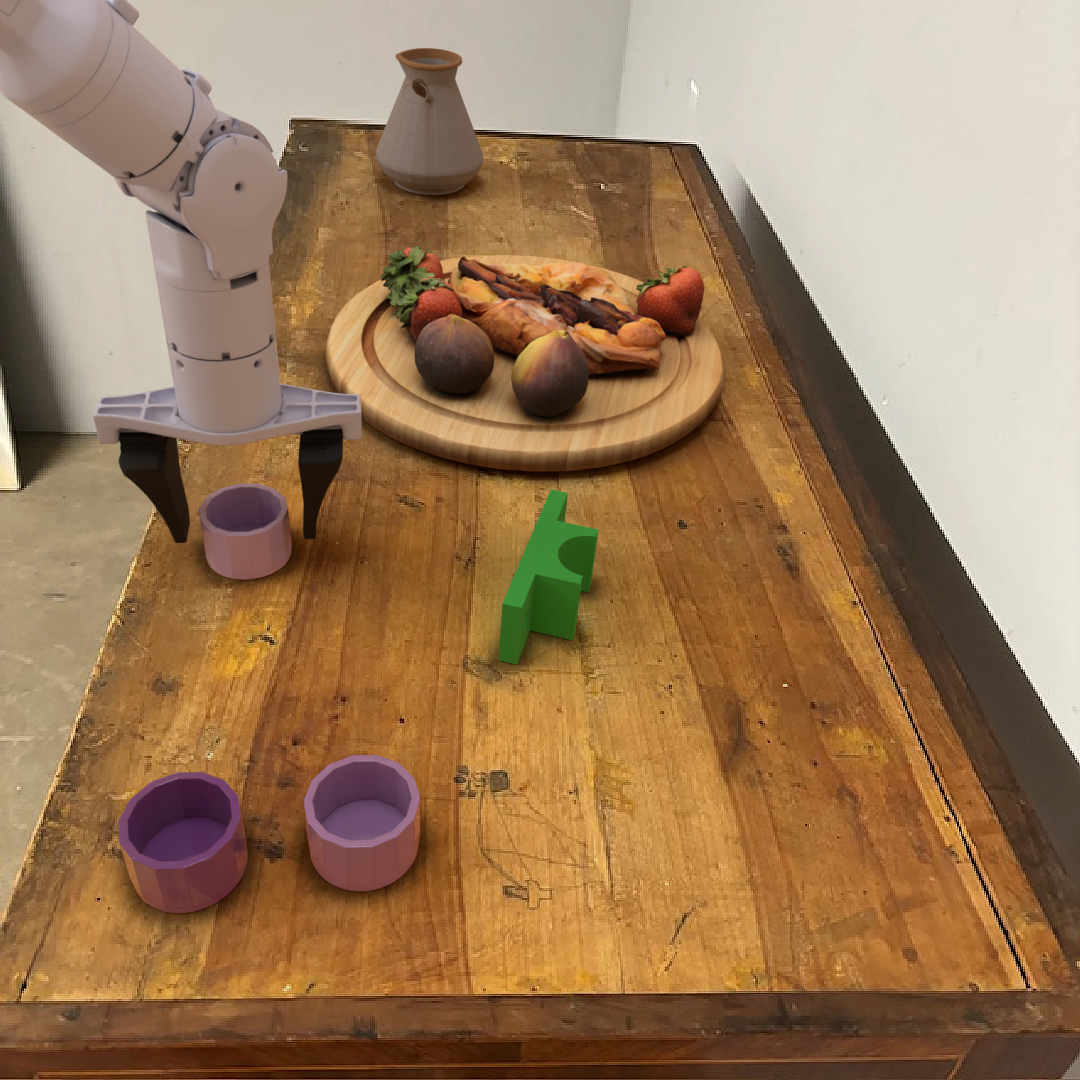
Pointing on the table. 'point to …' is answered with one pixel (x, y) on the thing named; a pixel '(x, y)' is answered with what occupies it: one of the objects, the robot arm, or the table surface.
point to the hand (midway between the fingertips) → (246, 531)
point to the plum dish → (184, 841)
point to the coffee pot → (429, 127)
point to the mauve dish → (363, 822)
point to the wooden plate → (527, 359)
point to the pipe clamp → (548, 580)
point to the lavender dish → (246, 531)
